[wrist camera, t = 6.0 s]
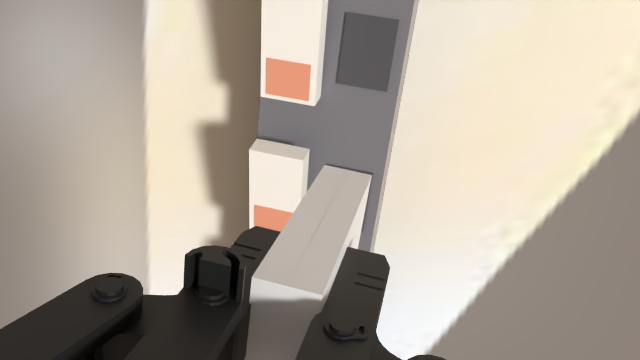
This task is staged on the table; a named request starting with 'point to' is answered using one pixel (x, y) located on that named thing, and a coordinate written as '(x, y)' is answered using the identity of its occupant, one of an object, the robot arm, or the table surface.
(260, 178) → the block
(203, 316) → the robot arm
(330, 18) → the strip
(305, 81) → the block
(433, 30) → the table surface
